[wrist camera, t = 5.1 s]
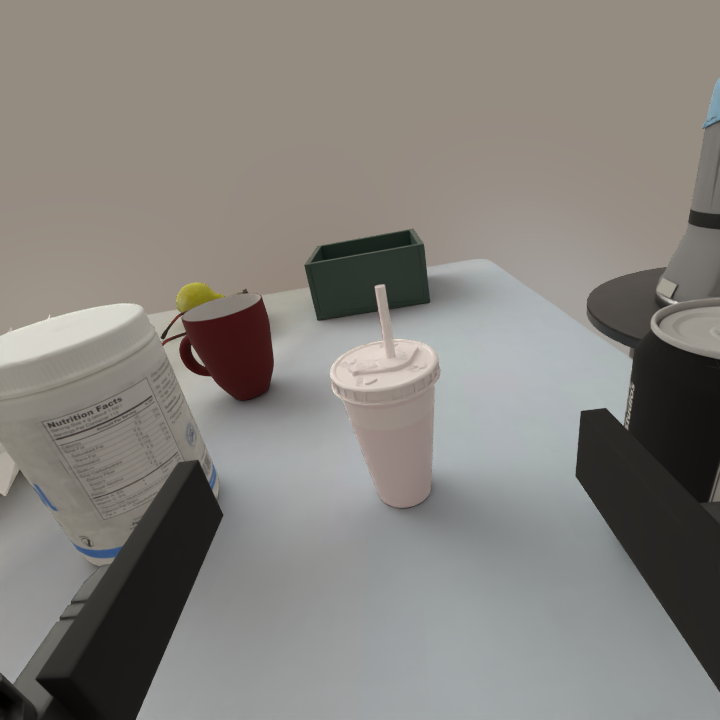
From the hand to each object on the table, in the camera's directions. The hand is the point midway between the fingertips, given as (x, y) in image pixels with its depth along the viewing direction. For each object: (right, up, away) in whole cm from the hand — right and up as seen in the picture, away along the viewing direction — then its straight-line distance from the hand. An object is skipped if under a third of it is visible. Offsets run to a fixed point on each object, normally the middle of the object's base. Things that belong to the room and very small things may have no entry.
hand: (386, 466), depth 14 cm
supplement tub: (-16, -8, +15) cm, 23 cm away
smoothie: (+2, -5, +13) cm, 14 cm away
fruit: (-35, +14, +58) cm, 69 cm away
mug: (-14, 0, +30) cm, 33 cm away
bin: (+1, +15, +54) cm, 56 cm away
